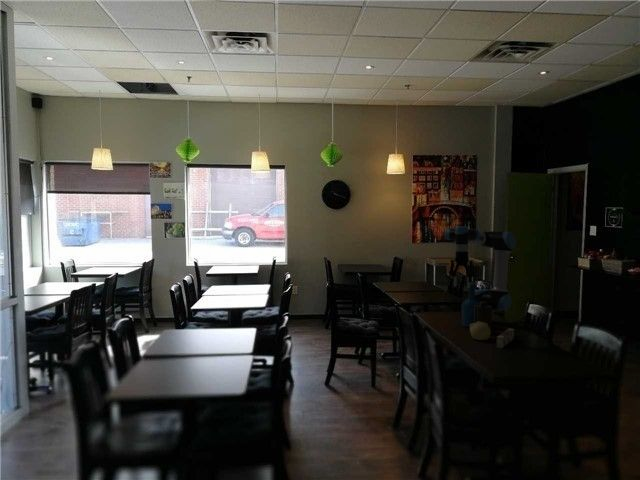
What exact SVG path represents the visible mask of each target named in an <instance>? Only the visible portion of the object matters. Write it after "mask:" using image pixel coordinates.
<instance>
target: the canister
mask: <svg viewBox="0 0 640 480" xmlns="http://www.w3.org/2000/svg"><path fill="white" fill-rule="evenodd" d="M487 303H488V302H483V301H481V302H480V304H478V305H474V322H475V323H476V322H478V321H479V322H485V323H487V324H488V327H489V328H490V335H491V334H492V323H491V318H492V309H491V307H492V306H490V305H487Z"/></svg>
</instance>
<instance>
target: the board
mask: <svg viewBox="0 0 640 480" xmlns="http://www.w3.org/2000/svg"><path fill="white" fill-rule="evenodd" d="M514 339H515V329H514V328H507V329H505V330H504V331H502V332H501V333H500V334H499V335H498V336H496V348H497V349H503V348H504V347H506V346H507V345H508V344H509V343H511V342H512V341H514Z"/></svg>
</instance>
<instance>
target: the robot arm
mask: <svg viewBox="0 0 640 480" xmlns="http://www.w3.org/2000/svg"><path fill="white" fill-rule="evenodd" d="M443 237H444V238H445V240H447V241H455V259H450V267H449V276H452V277H451V278H452V279H451V280H452V282H453V287H454V288H456V287H457V275H456V274H457V273H458V270H459V268H460V266H461V267H464V270H465V272H466V274H467V276H468V277H467V278H466V281H467V285H466V288H467V289H469V288H470V283H471V282H472V278H473V277H475V269H474V260H470V259H469V243H472V244H475V245H477V246H481V247H486V248H490V249H491V248H492V249H493V252H494V253H495V257H494V270H493V283H492V288H491V289H488V288H481V289H475V299H476V300H477V301H479V302H481V301H483V302H488V303H487V305H490V306H492V307H491V310H496V311H500V312H501V311H503V312H504V311H505V312H506V311H507V310H509V309H510V307H511V306H512V305H511V304H512V296H511V294H509V290H508V289H507V288H508V287H507V284H508V283H507V282H508V271H509V258H510V254H511V253H512V252H513V251H512V250H513V249H515V248H516V244H517V239H516V237H515V234H514V233H513V232H511V231H494V230H492V231H479V229H477V228H469V227H468V226H466V225H462V226H460V225H459V226H456V227H455V228H446V229H445V230H444V233H443ZM455 263H456V264H455ZM492 319H493V318H492V317H491V324H492V322H493V320H492Z"/></svg>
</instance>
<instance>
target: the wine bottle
mask: <svg viewBox="0 0 640 480" xmlns="http://www.w3.org/2000/svg"><path fill="white" fill-rule="evenodd" d="M475 290H476V287H475V283H474V282H471V283H470V288H468V297H467V298H466V299H465V300H464V301H463V302H462V303H461V325H462V327H466V328H469V329H470V324H473V323H475V322H474V305H478V304H480V302H479V301H477V300H476V299H475Z"/></svg>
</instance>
